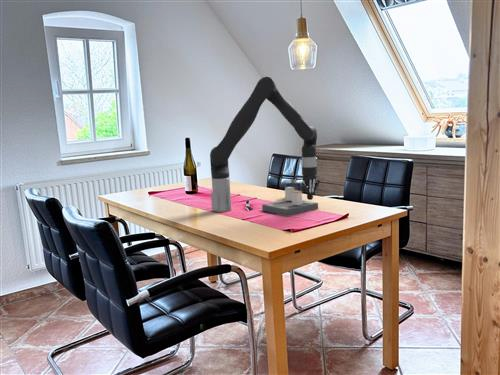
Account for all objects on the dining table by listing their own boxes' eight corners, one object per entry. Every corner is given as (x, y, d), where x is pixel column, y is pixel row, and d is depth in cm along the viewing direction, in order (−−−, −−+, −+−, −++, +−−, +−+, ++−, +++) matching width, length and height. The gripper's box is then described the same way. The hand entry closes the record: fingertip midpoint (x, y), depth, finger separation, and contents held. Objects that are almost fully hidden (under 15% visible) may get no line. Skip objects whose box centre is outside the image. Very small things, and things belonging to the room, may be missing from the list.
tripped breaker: (297, 205, 239) (297, 192, 237) (292, 204, 242) (291, 191, 241) (302, 204, 240) (301, 191, 239) (296, 203, 243) (296, 190, 242)
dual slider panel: (287, 215, 232) (286, 209, 232) (262, 210, 247) (262, 204, 247) (318, 208, 245) (318, 202, 244) (292, 203, 260) (292, 198, 259)
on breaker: (290, 200, 250) (289, 188, 249) (285, 200, 253) (284, 187, 252) (294, 200, 252) (294, 187, 251) (289, 199, 255) (289, 186, 254)
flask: (284, 198, 277) (284, 179, 275) (286, 197, 280) (285, 178, 278) (299, 198, 273) (299, 180, 271) (301, 197, 276) (301, 179, 274)
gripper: (304, 167, 236) (305, 202, 239) (323, 164, 244) (324, 198, 247) (294, 166, 242) (295, 200, 245) (313, 163, 250) (314, 196, 253)
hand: (310, 199), depth 246 cm, fingers closed
